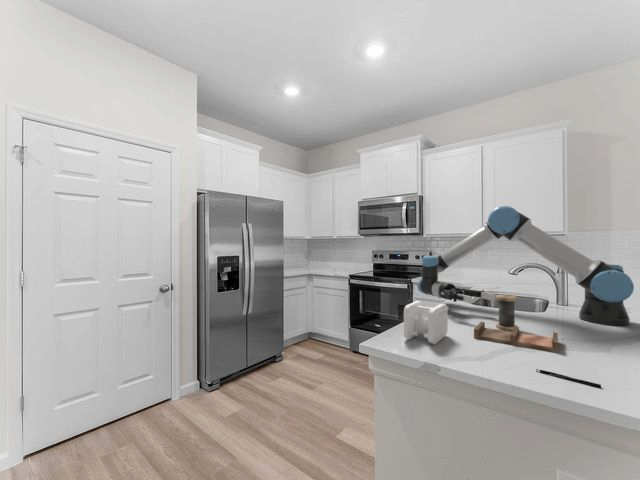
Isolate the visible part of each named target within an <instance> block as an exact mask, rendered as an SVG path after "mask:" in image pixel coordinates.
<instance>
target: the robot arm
mask: <svg viewBox="0 0 640 480" xmlns="http://www.w3.org/2000/svg"><path fill="white" fill-rule="evenodd" d="M502 237H504V238H505V239H507V240H509V241H511V242H518V243H520V244H522V245H524V246H525V247H527V248H528V249H529V250H532V251H533V252H534V253H536V254H538V255H540V257H542V258H544V259H546V260H547V261H549V263H551V264H553V265H555V266H557V267H558V268H559V269H561V270H562V271H564V272H566V273H567V274H569V275H570V276H572V277H573V278H574V279H575V283H576V284H577V285H579V286H580V287H581V288H583V289H584V301H583V304H582V305H581V308H580V310H579V313H578V314H579V317H578V318H579V319H581V320H583V321H586V322H590V323H595V324H601V325H606V326H608V325H609V326H629V325H630V323H631V321H630V319H631V318H630V316H629V314H628V312H627V309H626V307H625V305H624V301H625V300H627V299H629V298H630V297H631V296H632V295H633V293H634V289H635V285H634V283H633V280H632V279H631V277H630V276H629V275H628V274H626V273H625V271H624V268H623V267H624V266H622V265H619V264H610V263H609V264H608V263H606V262H604V261H603V260H601V259H596V260H593V259H591V258H589V257H588V256H586V255H584V254H582V253H581V252H579V251H577V250H576V249H574V248H572V247H570V246H569V245H567V244H566V243H564V242H562V241H561V240H559V239H557V238H556V237H554V236H553V235H550V234H549V233H547V232H545V231H543V230H542V229H541V228H539V227H537V226H536V225H533V224H532V220H531V219H530V218H529V217H528V216H526V215H524V214H523V213H521V212H519V211H517V209H515V208H514V207H512V206H508V205H500V206H498V207H496V208H494V209H492V211H490V212H489V215H488V217H487V221H486V222H484V225H483V227H481V228H480V229H478V230H476V231H475V232H473V233H472V234H470V235H469V236H467V237H466V238H464V239H463V240H461V241H460V242H458V243H457V244H454V245H453V246H452V247H451V248H449V249H447V250H445V251H444V252H443V253H441V254H440V255H438V256H436V255H424V256H423V257H422V258H421V259H422V260H421V270H422V271H421V279H419V280H418V281H417V285H416V287H417V290H418V291H419V293H422V294H425V295H429V296H432V297H437V298H438V299H445V300H449V301H453V302H455V303H456V302H457V301H459V302H462V303H465V304H472V303H473V302H472V298H481V299H484V300H489V301H493V302H496V301H497V300H496V295H497V294H494V293H490V292H486V291H485V290H484V289H482V290H477V289H467V288H460V287H456V286H455V284H453V283H451V282H450V283H449V282H444V281H439V273H440V274H441V273H442V272H445V271H446V269H448V268H449V267H451V266H452V265H454V264H456V263H457V262H458V261H461V260H463V259H464V258H466V257H467V256H468V255H470V254H473V252H476V251H477V250H479V249H480V248H483V246H485V245H487V244H488V243H490V242H492V241H493V240H499V239H501V238H502Z"/></svg>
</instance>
